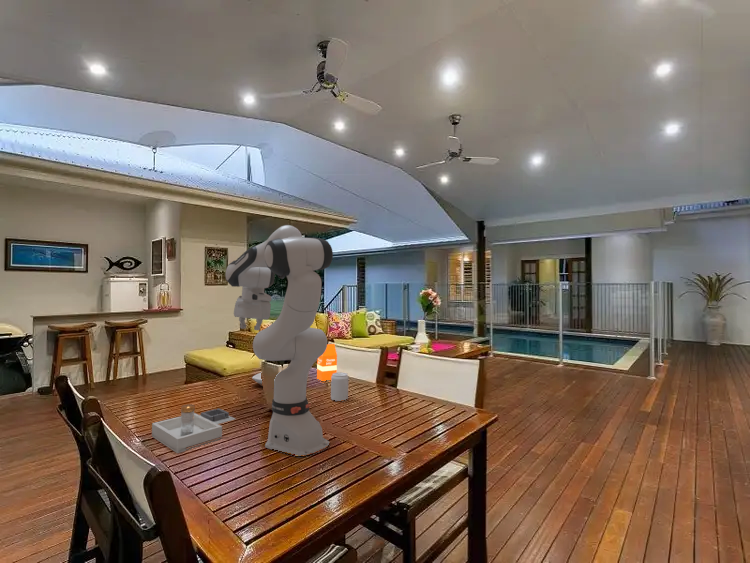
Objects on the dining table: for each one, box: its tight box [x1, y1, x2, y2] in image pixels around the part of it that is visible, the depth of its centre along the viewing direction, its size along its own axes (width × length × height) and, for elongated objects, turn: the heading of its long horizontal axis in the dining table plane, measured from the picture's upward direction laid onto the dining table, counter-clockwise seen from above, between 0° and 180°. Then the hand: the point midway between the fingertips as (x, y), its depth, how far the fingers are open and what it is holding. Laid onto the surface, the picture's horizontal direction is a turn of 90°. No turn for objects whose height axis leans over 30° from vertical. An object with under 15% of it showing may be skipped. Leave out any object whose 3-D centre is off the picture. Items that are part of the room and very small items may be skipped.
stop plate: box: [199, 408, 236, 425], centre depth 153 cm, size 14×10×3 cm
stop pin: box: [180, 403, 196, 437], centre depth 136 cm, size 4×4×10 cm
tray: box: [151, 412, 223, 454], centre depth 136 cm, size 20×15×4 cm
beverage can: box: [330, 371, 349, 402], centre depth 184 cm, size 8×8×12 cm
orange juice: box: [316, 343, 338, 382], centre depth 220 cm, size 8×9×20 cm
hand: (249, 329), depth 163 cm, fingers open, 8 cm apart
